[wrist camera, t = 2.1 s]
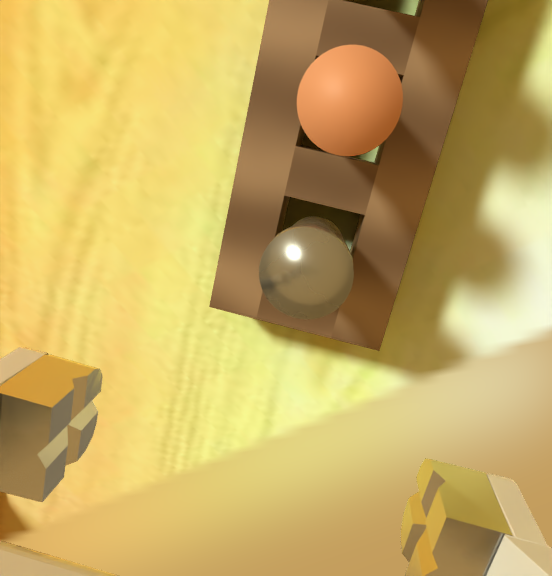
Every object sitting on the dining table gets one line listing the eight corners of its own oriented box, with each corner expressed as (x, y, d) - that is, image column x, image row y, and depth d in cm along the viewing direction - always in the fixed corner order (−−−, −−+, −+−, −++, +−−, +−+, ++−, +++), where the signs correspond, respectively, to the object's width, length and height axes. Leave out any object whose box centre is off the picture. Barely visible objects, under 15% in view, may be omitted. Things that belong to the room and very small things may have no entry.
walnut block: (375, 326, 33) (379, 350, 29) (224, 287, 33) (209, 306, 29) (507, -109, 26) (535, -153, 22) (313, -148, 26) (307, -197, 22)
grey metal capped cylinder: (341, 289, 28) (339, 329, 22) (270, 272, 28) (250, 306, 22) (360, 218, 27) (364, 240, 21) (286, 200, 27) (269, 217, 21)
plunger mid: (376, 161, 26) (385, 166, 20) (299, 143, 26) (286, 143, 20) (399, 77, 25) (416, 57, 19) (318, 59, 25) (310, 34, 19)
